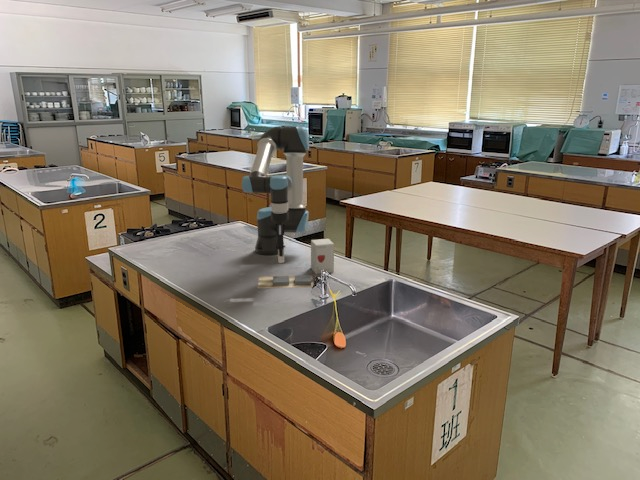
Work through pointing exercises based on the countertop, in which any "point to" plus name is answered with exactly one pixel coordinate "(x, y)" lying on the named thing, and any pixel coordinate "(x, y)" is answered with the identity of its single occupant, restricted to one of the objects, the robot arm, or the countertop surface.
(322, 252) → the supplement box
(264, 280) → the board
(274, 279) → the tile
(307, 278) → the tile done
